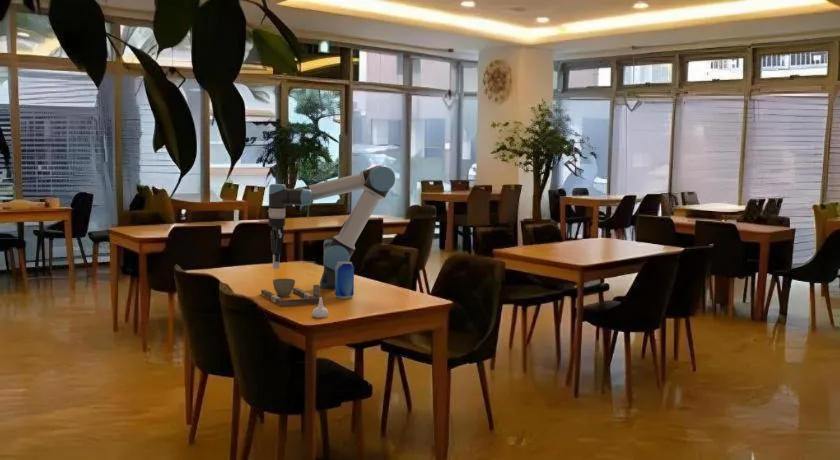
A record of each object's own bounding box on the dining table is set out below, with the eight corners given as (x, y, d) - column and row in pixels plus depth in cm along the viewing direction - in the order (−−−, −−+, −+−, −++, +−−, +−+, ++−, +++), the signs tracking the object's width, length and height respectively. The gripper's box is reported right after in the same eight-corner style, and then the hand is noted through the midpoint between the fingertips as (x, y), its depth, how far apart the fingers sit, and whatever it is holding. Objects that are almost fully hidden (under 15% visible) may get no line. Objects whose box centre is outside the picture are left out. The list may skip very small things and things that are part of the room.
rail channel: (261, 294, 357) (261, 281, 356) (304, 291, 366) (304, 278, 366) (281, 306, 329) (281, 292, 328) (328, 303, 338) (328, 289, 338)
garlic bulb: (319, 320, 306) (320, 300, 305) (308, 316, 310) (310, 296, 309) (331, 318, 311) (332, 298, 310) (320, 314, 315) (322, 295, 314)
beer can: (338, 299, 347) (339, 263, 345) (332, 296, 354) (332, 261, 353) (356, 298, 351) (356, 263, 349) (349, 295, 358) (349, 260, 357)
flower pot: (290, 298, 349) (290, 282, 348) (269, 296, 351) (269, 281, 350) (298, 294, 358) (298, 278, 358) (277, 293, 360) (277, 277, 360)
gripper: (264, 216, 365) (264, 266, 367) (273, 218, 354) (272, 270, 356) (280, 216, 369) (279, 266, 371) (289, 218, 357) (288, 270, 359)
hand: (276, 268), depth 363 cm, fingers closed
